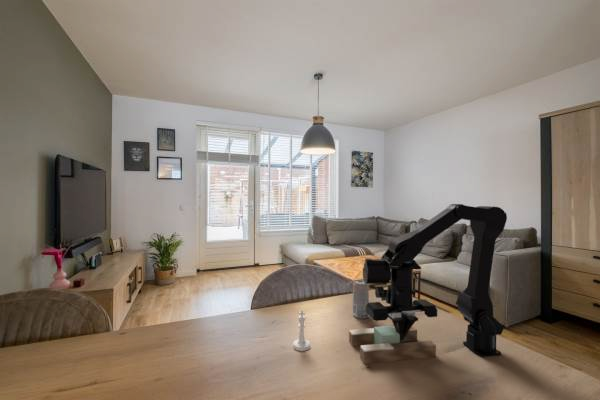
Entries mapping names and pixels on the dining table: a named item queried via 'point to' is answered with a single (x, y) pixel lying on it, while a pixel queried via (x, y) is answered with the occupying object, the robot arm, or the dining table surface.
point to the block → (386, 335)
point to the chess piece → (301, 335)
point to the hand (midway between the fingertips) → (400, 340)
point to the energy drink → (360, 299)
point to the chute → (390, 347)
